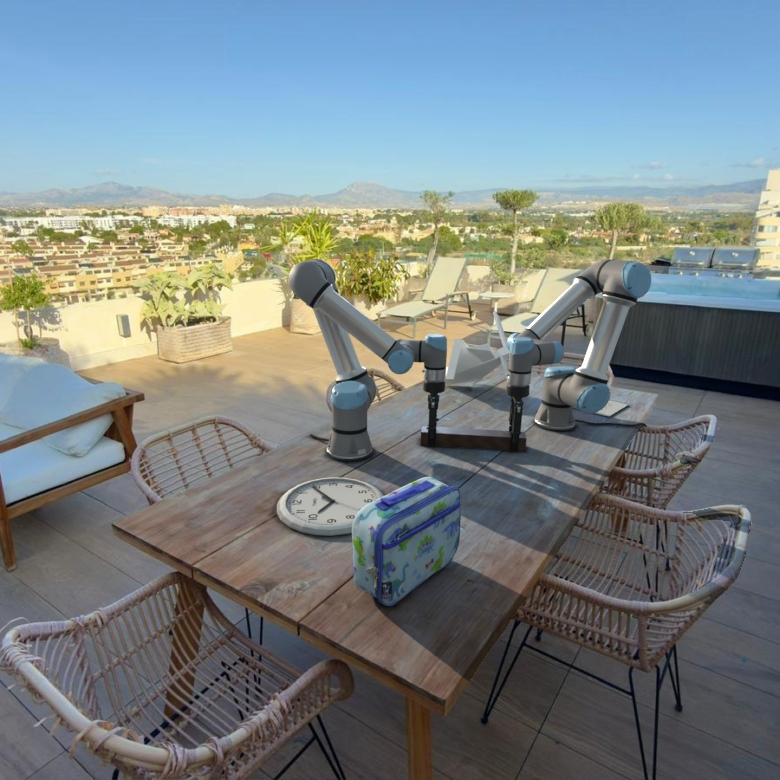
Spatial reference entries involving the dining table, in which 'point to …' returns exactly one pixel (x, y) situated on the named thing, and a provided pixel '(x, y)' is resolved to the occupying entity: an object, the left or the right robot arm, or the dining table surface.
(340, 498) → the wall clock
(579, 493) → the dining table surface
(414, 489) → the lunch box
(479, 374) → the white plastic object
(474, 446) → the plank
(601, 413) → the invitation card
